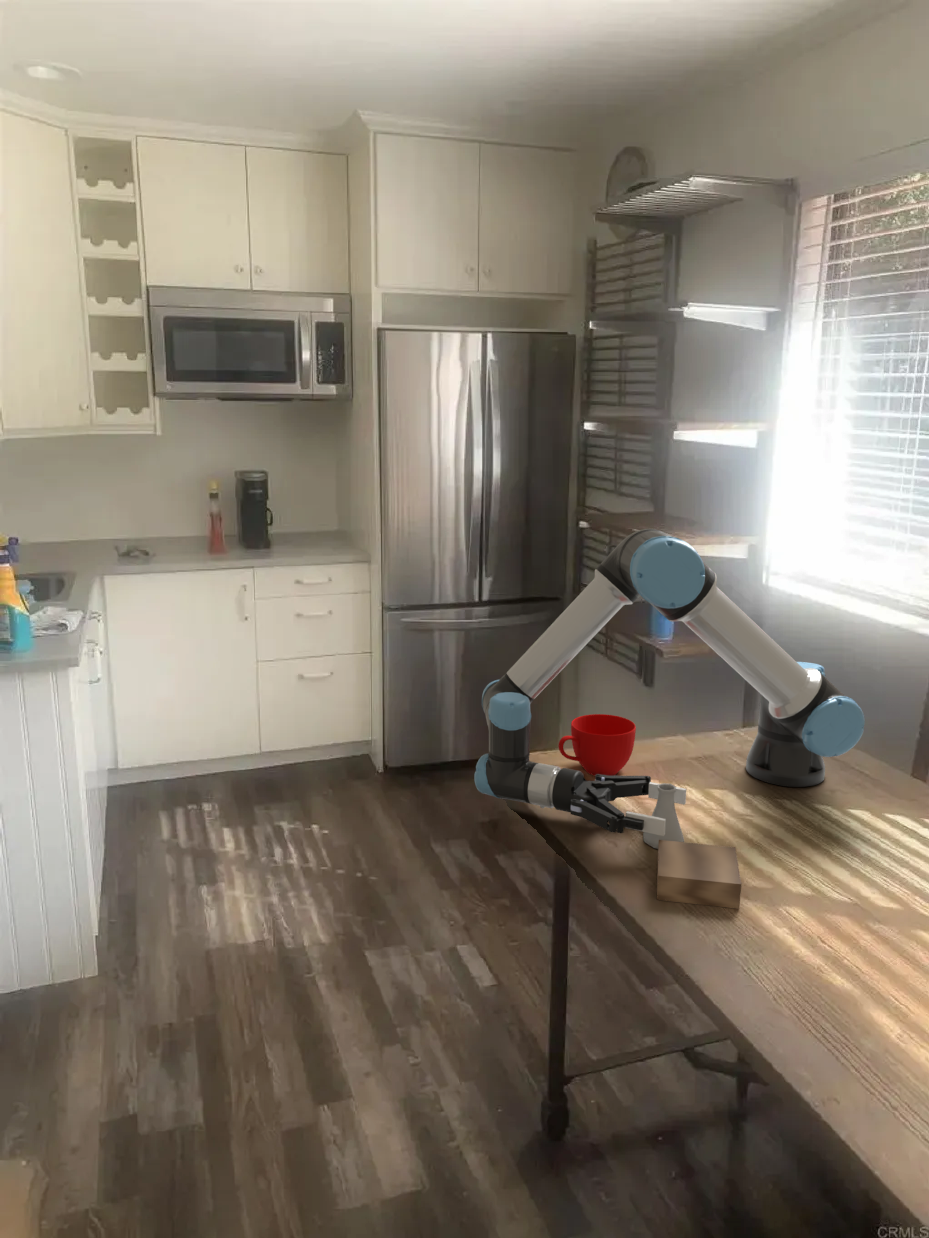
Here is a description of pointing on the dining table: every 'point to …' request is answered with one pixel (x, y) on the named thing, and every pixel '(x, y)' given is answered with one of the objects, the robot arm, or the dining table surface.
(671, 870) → the plinth
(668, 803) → the flask
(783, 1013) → the dining table surface
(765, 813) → the dining table surface
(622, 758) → the ceramic cup
